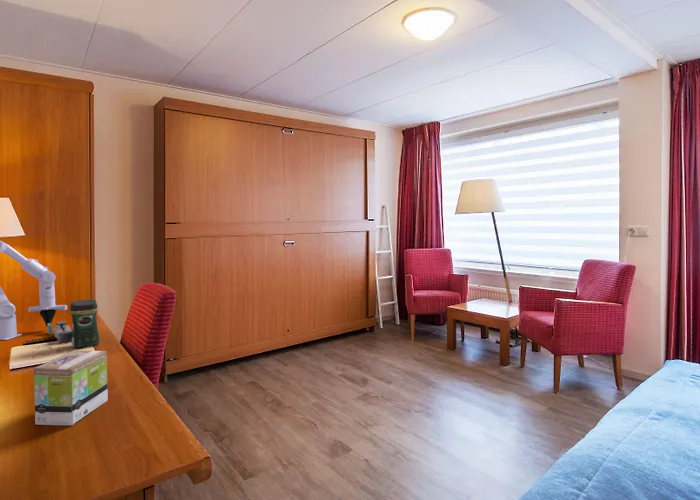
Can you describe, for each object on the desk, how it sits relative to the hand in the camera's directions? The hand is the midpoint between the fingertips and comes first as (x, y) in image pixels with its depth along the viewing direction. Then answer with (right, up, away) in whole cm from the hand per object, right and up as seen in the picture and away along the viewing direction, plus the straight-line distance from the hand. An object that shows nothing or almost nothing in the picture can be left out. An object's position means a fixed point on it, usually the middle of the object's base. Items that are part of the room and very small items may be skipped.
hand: (48, 326), depth 193 cm
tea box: (+64, -9, -80) cm, 103 cm away
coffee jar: (+30, -4, -22) cm, 38 cm away
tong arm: (+14, -3, -11) cm, 18 cm away
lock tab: (+4, -2, -5) cm, 6 cm away
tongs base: (+14, -3, -11) cm, 18 cm away
